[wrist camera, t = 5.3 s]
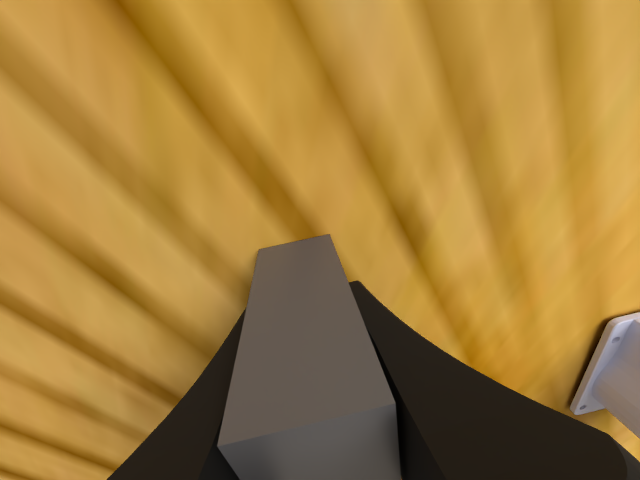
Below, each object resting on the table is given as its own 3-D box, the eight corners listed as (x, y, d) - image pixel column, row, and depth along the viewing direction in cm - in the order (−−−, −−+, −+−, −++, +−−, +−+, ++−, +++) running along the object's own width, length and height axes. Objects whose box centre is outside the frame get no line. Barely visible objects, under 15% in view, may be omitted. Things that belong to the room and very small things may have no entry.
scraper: (223, 257, 10) (124, 468, 4) (364, 226, 10) (481, 382, 4) (316, 485, 20) (330, 657, 13) (390, 466, 20) (439, 627, 13)
